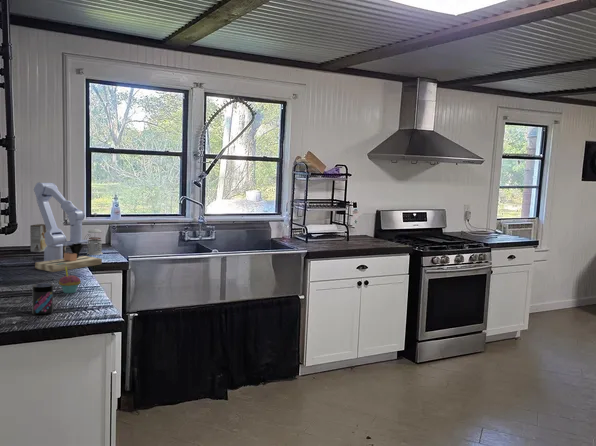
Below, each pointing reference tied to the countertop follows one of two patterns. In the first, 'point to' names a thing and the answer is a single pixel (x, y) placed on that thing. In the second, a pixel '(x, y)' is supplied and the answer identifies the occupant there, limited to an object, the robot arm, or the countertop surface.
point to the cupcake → (69, 282)
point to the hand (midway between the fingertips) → (75, 257)
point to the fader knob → (70, 256)
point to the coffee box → (37, 237)
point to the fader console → (67, 263)
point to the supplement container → (42, 299)
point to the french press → (92, 243)
